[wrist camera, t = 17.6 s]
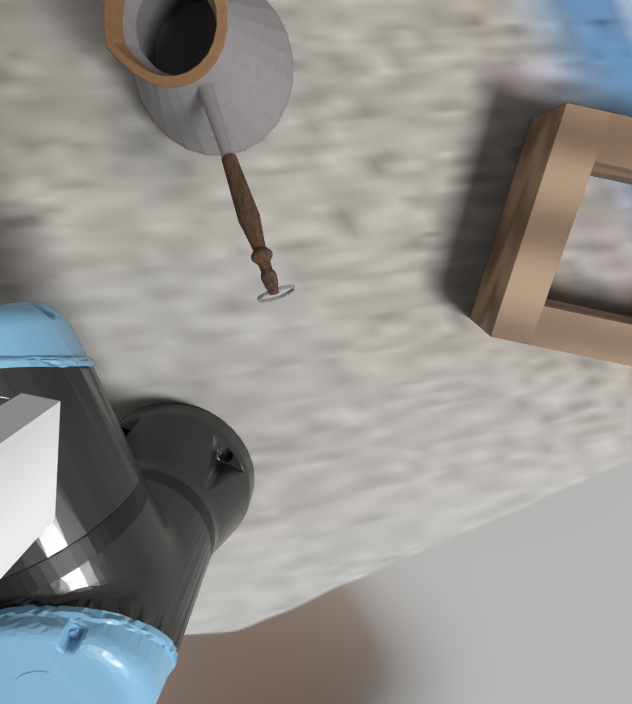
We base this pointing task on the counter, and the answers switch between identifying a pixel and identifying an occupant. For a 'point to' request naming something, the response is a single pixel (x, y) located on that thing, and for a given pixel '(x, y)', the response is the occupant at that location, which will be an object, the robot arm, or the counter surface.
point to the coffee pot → (210, 84)
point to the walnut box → (554, 235)
